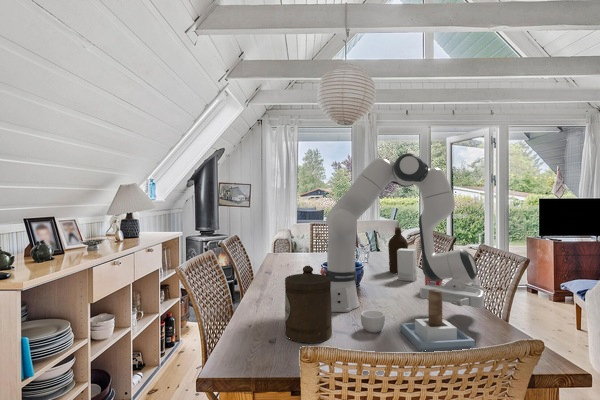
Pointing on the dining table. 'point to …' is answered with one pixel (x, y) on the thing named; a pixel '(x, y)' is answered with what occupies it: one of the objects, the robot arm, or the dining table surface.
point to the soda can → (432, 282)
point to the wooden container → (308, 307)
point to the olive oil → (393, 246)
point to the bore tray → (436, 344)
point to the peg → (435, 308)
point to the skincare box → (406, 264)
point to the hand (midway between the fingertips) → (444, 300)
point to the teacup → (372, 320)
